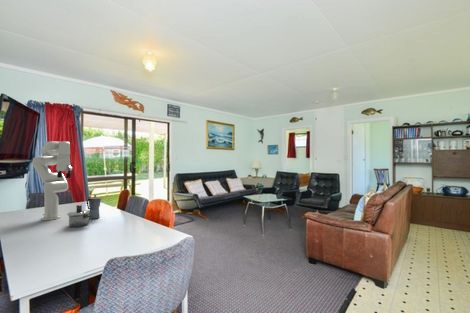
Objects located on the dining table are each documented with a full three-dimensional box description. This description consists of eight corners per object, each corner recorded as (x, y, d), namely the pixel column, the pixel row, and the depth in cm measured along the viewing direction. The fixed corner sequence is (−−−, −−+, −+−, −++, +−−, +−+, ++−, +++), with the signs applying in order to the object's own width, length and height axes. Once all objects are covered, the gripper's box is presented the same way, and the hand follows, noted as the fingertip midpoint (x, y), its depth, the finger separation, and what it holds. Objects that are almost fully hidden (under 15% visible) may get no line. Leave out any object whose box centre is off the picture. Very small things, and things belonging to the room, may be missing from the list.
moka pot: (104, 216, 207) (104, 193, 207) (92, 220, 191) (92, 196, 191) (94, 215, 208) (95, 193, 208) (81, 220, 192) (82, 196, 192)
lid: (63, 214, 175) (63, 206, 175) (81, 210, 188) (81, 203, 188) (76, 216, 170) (76, 207, 170) (93, 212, 184) (93, 204, 184)
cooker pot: (61, 226, 176) (61, 214, 176) (77, 221, 189) (77, 210, 189) (81, 228, 170) (81, 216, 170) (96, 224, 182) (96, 212, 182)
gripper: (51, 156, 185) (51, 177, 185) (67, 156, 180) (66, 178, 180) (61, 156, 192) (61, 177, 192) (76, 156, 187) (76, 177, 187)
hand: (63, 177), depth 186 cm, fingers open, 9 cm apart
